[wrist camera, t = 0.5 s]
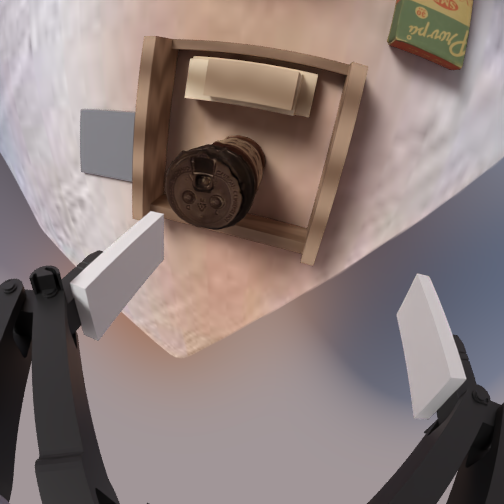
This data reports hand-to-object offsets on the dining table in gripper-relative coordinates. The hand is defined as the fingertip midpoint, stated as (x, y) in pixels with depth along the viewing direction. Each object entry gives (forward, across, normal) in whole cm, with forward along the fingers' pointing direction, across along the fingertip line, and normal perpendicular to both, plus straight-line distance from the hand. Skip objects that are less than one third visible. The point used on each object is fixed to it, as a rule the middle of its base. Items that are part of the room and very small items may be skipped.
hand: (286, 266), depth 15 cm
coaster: (+24, -28, -2) cm, 37 cm away
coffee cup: (+24, -8, -2) cm, 25 cm away
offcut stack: (+24, -8, +8) cm, 26 cm away
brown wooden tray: (+24, -8, +1) cm, 25 cm away
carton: (+24, +11, +24) cm, 35 cm away
